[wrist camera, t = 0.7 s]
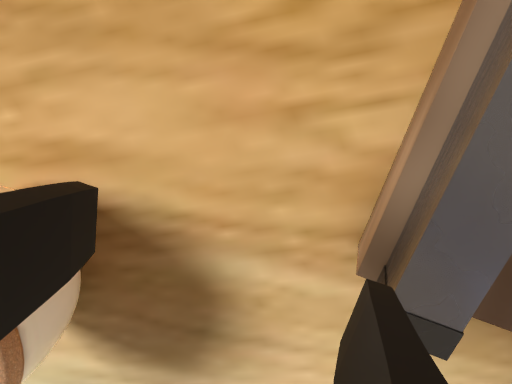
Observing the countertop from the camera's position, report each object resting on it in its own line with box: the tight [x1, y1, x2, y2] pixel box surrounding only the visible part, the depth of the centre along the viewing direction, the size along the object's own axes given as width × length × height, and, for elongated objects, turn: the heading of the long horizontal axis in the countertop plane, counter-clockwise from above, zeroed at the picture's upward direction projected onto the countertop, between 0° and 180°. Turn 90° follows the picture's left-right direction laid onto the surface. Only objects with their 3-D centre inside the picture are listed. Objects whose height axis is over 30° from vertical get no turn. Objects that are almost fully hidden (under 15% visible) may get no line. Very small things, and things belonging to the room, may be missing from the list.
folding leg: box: [376, 1, 512, 361], centre depth 12 cm, size 11×2×2 cm, turn 166°
